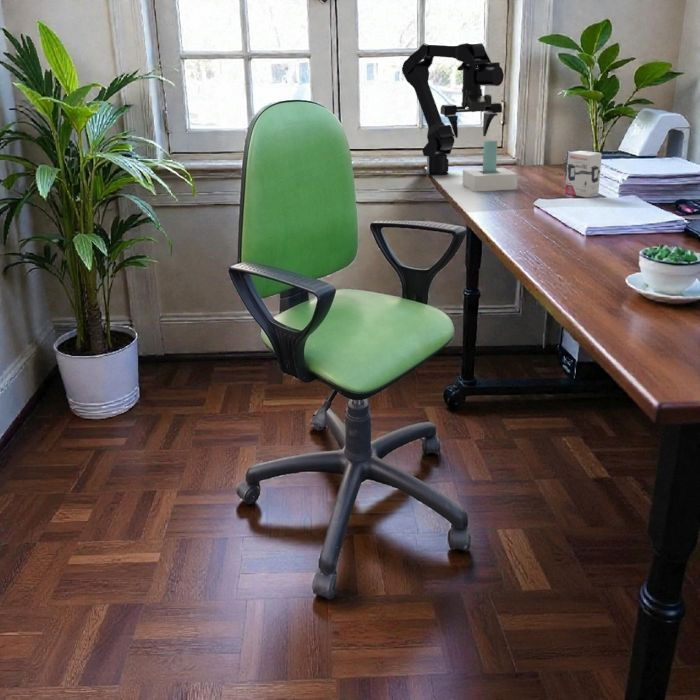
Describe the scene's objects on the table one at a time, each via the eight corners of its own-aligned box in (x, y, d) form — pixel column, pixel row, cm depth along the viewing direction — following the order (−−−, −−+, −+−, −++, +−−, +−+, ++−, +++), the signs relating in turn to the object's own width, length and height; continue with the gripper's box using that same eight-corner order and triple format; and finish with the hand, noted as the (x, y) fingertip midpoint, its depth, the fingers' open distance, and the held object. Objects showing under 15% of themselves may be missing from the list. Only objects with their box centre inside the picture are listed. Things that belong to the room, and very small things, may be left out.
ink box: (564, 193, 219) (567, 151, 214) (576, 191, 221) (579, 150, 217) (586, 197, 212) (590, 154, 207) (599, 195, 214) (603, 152, 210)
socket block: (474, 191, 226) (474, 176, 224) (462, 184, 238) (462, 169, 236) (516, 189, 227) (517, 174, 226) (502, 182, 239) (503, 167, 237)
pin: (481, 184, 231) (482, 142, 226) (483, 182, 234) (484, 140, 230) (494, 184, 230) (496, 142, 225) (496, 182, 233) (498, 140, 229)
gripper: (449, 88, 230) (448, 141, 236) (508, 85, 232) (506, 138, 238) (440, 86, 240) (439, 137, 246) (497, 84, 242) (495, 134, 248)
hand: (470, 136), depth 244 cm, fingers open, 9 cm apart
